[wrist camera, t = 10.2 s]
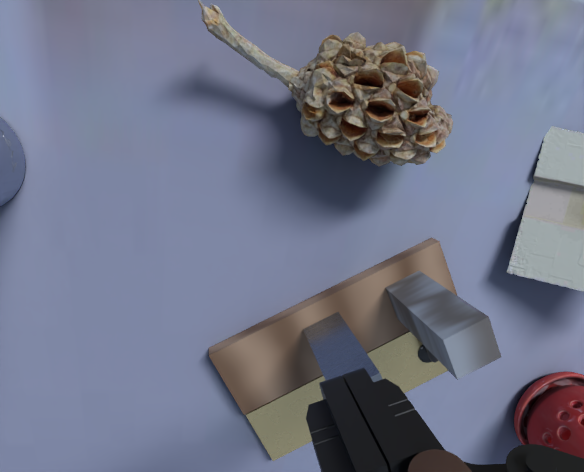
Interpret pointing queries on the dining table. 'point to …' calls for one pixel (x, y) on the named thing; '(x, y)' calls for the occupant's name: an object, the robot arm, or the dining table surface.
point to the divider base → (361, 327)
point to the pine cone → (357, 95)
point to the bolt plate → (294, 405)
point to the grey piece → (554, 215)
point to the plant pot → (553, 413)
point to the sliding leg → (338, 348)
